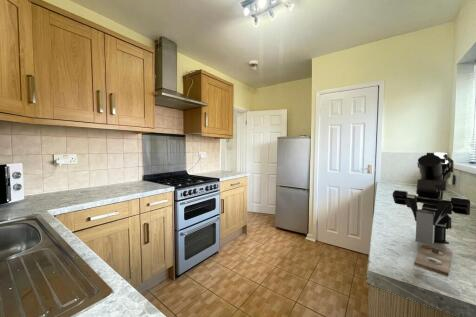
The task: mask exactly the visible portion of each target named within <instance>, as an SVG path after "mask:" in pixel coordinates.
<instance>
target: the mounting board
mask: <svg viewBox="0 0 476 317" xmlns="http://www.w3.org/2000/svg"><path fill="white" fill-rule="evenodd" d="M452 255H453V252H452V251H450V250H445V249H444V248H443V249H442V248H439V247H437V246H433V245H429V244H427V245H426V244H425V243H422V245H421V247H420V249H419V252H418V254H417V255H416V258H415V260H414V261H413V265H415V266H418V267H422V268H425V269H427V270H430V271H434V272H435V273H440V274H443V275H446V276H449V274H450V267H451V262H452Z"/></svg>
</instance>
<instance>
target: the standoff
mask: <svg viewBox="0 0 476 317" xmlns="http://www.w3.org/2000/svg"><path fill="white" fill-rule="evenodd" d="M434 217H435V212H434V211H428V210H422V208H418V210H417V212H416V221H415V222H416V223H415V242H417V243H422V244H424V245H426V244H427V245H428V246H434V245H433V244H434V228H435V225H433V222H434Z"/></svg>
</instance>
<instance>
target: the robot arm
mask: <svg viewBox="0 0 476 317" xmlns="http://www.w3.org/2000/svg"><path fill="white" fill-rule="evenodd" d="M454 164H455V163H454V160H453V159H452V158H450V157H449V156H448V153H447V152H426V154H424V155H422V156H420V157H419V158H417V168H418V169H419V174H420V179H417V182H416V191H415V193H416V195H415V194H413V193H412V194H411V193H408V191H407V190H400V189H395V190H393V191H392V198H393V201H394V203H395V204H396V205H400V206H401V205H402V206H406V207H407V208H408V209H410V210H411V211H412V212H411V213H412V214H413V217H414V221H415V222H416V212H417V210H418V209H419V208H418V203H419V204H422V205H421V206H422V207H421V209H422V210H428V211H434V212H435V217H434V222H433V225H435V228H434V243H435V244H448V245H449V244H450V242H449V241H447V240H446V239H447V238H446V236H447V230H449V229H450V230H452V217H451V215H452V214H453V213H454V214H458V215H463V216H469V215H471V214H470V213H471V200H470V199H469V198H467V197H458V196H451V197H450V198H451V199H450V200H446V199H444V193H445V192H446V191H447V180H448V179H450V178H451V176H452V173H454V170H455V167H454V166H455V165H454ZM434 243H433V244H434Z"/></svg>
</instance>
